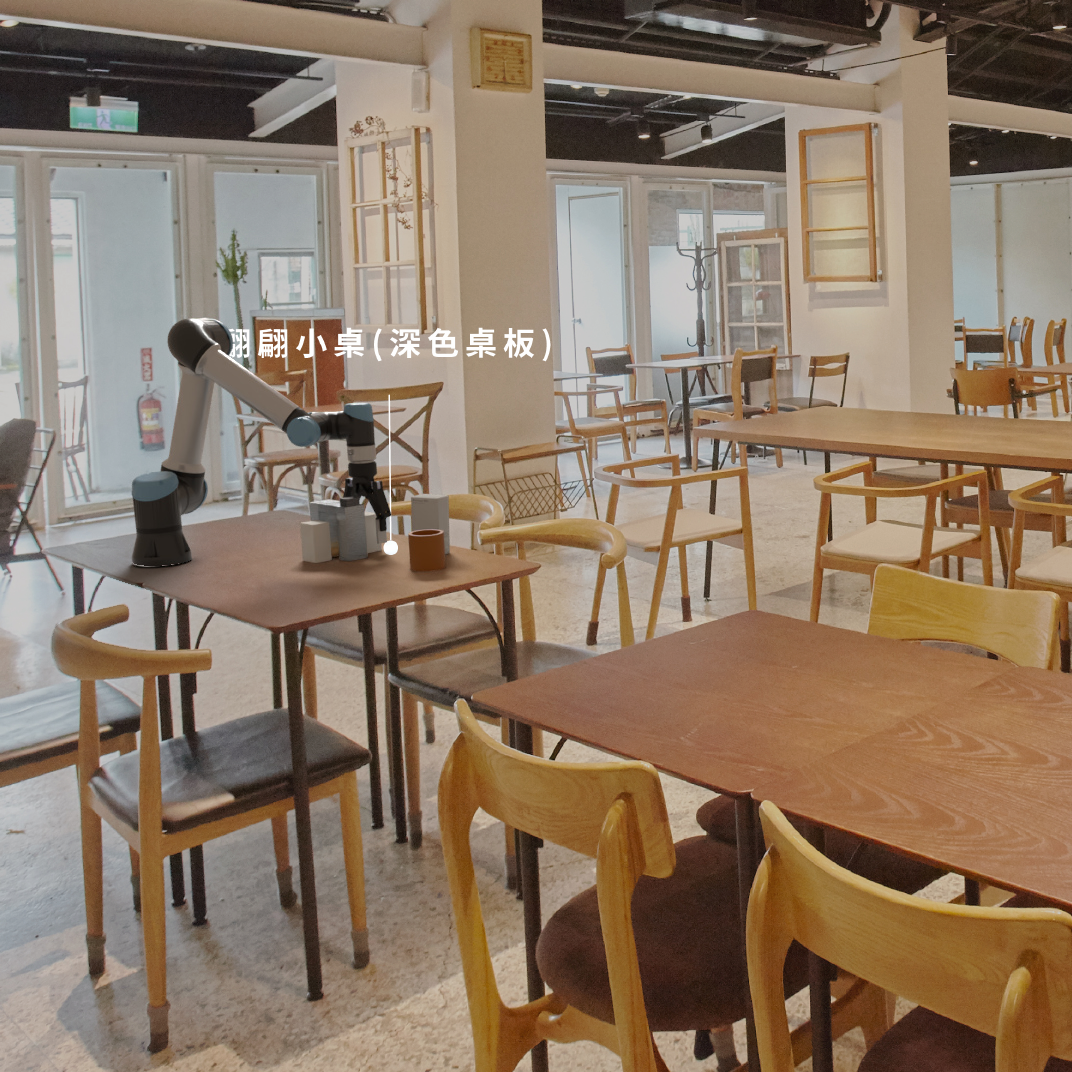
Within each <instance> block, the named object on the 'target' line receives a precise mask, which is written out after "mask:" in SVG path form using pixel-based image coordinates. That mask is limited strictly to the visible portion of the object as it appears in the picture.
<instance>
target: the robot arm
mask: <svg viewBox="0 0 1072 1072" xmlns="http://www.w3.org/2000/svg"><path fill="white" fill-rule="evenodd" d="M167 334H168V335H167V347H168V350H169V352H170V354H171V356H173V358H175V360H176V361H178V362H177V366H178V367H179V369H180V370H181V371H182V372H181V373H182V374H181V380H180V386H179V390H178V398H177V403H176V411H175V416H174V421H173V422H174V423H173V429H172V436H171V440H170V447H169V448H170V449H169V454H168V457H167V458H166V459H165V460H163V461H162V462H161V465H160V466H161V467H160V471H154V472H152V471H151V472H149V473H144V474H141V475H138V476H136V477H135V478H134V479H133V480H132V483H131V496H132V505H133V513H134V515H133V516H134V521H135V531H136V537H135V542H134V546H133V550H132V555H131V560H132V562H133V563H134V564H137V565H144V566H162V565H171V564H178V563H182V564H185V563H184V562H186V563H189V562H191V561H192V560H193V557H192V551H191V548H190V546H189V545H190V544H188V540H187V539H186V536H185V534H184V532H183V523H182V516H184V515H188V514H191V513H193V512H194V511H196V510H197V509H198V508H200V507H201V506H202V505H203V504H204V503H205V501H206V499H207V497H208V492H209V487H208V482H207V480H206V479H205V476H206V475H205V473H206V469H205V467H204V466H203V463H202V458H203V452H204V447H205V440H206V434H207V428H208V424H209V423H208V422H209V418H210V417H209V415H210V411H211V406H212V405H211V404H212V398H213V393H214V388H215V387H214V386H215V384H216V385H218V386H219V387H221V388H222V389H224V390H225V391H226V392H228V393H229V394H231V395H232V396H233V397H235V398H236V399H237V400H238V401H240V402H241V403H243V404H244V405H246V406H247V407H248V408H250V409H251V410H253V411H254V412H256V413H257V414H258V415H260V416H261V417H263V418H264V419H265V420H267V421H269V422H270V423H271V424H273V425H274V426H275V427H276V428H278V429H279V430H281V431H282V432H283V433H285V434H286V436H287V438H288V440H289V442H290V443H291V444H293V445H295V446H296V447H301V448H302V447H311V446H314V445H316V444H318V443H322V442H324V441H335V440H337V441H338V440H339V441H340V440H342V441H343V440H345V442H346V453H347V460H348V464H347V469H348V476H349V477H348V478H345V480H344V489H343V490H344V491H343V496H342V498H345V497H352V496H353V497H359V501H360V499H361V498H362V497H363V498H365V500H368V503H369V504H370V506H371V509H372V510H373V513H375V514H376V516H377V517H376V519H375V521H376V536H377V544H385V543H388V537H387V529H388V528H387V527H388V526H387V519H388V518H389V517H391V516H392V512H391V508H390V506H389V503H388V499H387V497H386V494H385V490H384V487H383V486H384V485H383V481H382V480H377V481H375V478H374V477H375V476H376V475H377V474H378V469H377V467H378V466H377V462H376V461H375V460H376V459H377V451H376V443H375V442H376V440H375V437H376V436H375V423H374V422H375V419H374V413H373V411H374V410H373V407H372V404H371V403H368V402H352V403H351V402H350V403H345V404H344V406H343V410H341V411H310V412H308V411H306V410H304V409H303V408H301V407H300V406H299V405H297V404H296V403H295V402H293V401H292V400H290V399H289V398H287V396H285V395H284V394H283V393H281V392H279V391H278V390H276V389H275V388H274V387H272V386H271V385H270V384H269V383H267V382H265V381H264V379H263V380H262V378H260V377H259V376H257V375H256V374H255V373H253V372H252V371H251V370H249V369H248V368H246V367H244V366H243V365H242V364H240V363H239V362H238V361H236V360H235V359H234V358H232V357H231V356H230V354H231V352H232V351H233V346H234V339H233V334H232V333H231V331H230V329H229V328H228V327H227V326H226V324H225V323H223V322H222V321H219V320H218V319H215V318H212V317H211V318H210V317H199V318H198V317H197V318H184V319H181V320H179V321H177V322H176V323H174V324H173V325H172V326H171V328H170V329H169V332H168V333H167ZM190 560H191V561H190ZM188 561H189V562H188ZM133 563H132V564H133ZM178 565H179V564H178Z"/></svg>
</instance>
